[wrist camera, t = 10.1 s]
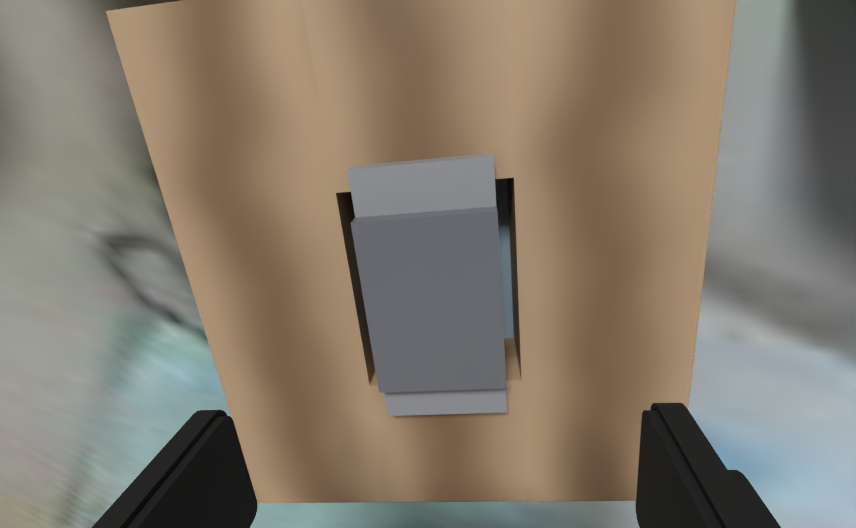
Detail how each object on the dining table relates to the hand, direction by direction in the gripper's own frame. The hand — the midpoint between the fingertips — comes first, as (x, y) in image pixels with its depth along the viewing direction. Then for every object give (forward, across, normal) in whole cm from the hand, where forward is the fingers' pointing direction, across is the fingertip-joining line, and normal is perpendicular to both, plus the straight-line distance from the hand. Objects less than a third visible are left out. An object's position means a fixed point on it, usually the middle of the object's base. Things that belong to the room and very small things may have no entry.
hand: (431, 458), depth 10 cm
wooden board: (+12, +1, -1) cm, 12 cm away
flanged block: (+12, +1, 0) cm, 12 cm away
